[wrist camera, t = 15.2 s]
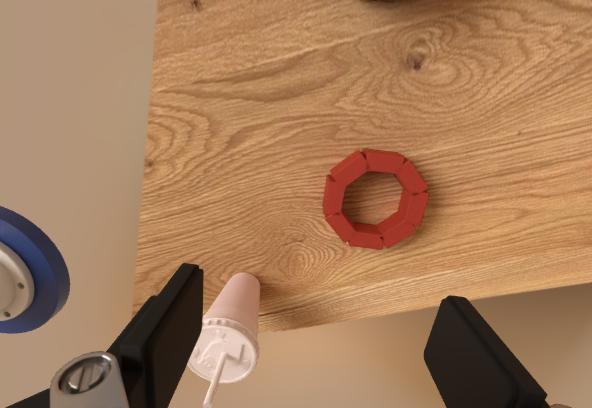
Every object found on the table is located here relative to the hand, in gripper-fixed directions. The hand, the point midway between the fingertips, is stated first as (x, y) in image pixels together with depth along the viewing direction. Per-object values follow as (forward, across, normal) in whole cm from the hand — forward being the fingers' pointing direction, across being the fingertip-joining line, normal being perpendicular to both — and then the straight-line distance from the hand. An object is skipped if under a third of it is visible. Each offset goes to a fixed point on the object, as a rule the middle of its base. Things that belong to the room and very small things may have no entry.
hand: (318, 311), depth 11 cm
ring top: (+18, -6, 0) cm, 19 cm away
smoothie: (+19, +6, +13) cm, 24 cm away
